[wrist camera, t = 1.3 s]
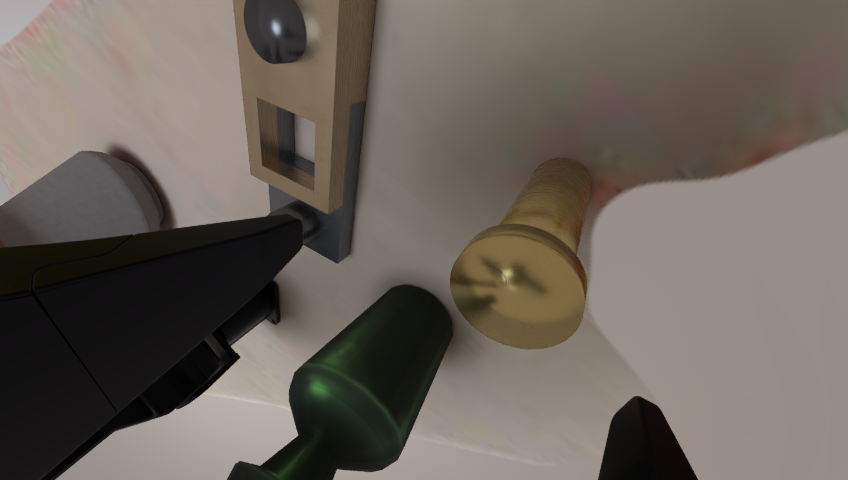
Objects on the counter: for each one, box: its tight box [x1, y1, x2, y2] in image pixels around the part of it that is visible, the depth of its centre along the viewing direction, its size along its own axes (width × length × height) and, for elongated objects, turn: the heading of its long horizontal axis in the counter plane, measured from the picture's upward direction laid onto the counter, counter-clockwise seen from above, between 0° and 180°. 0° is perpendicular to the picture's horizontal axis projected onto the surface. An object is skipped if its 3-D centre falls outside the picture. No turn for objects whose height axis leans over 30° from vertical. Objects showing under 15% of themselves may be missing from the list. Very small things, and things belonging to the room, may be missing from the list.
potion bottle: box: [227, 286, 453, 480], centre depth 21 cm, size 8×8×18 cm
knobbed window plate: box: [233, 0, 376, 264], centre depth 22 cm, size 18×7×4 cm, turn 166°
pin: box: [450, 158, 591, 349], centre depth 14 cm, size 4×4×10 cm
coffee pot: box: [0, 151, 163, 247], centre depth 38 cm, size 21×12×15 cm, turn 119°
